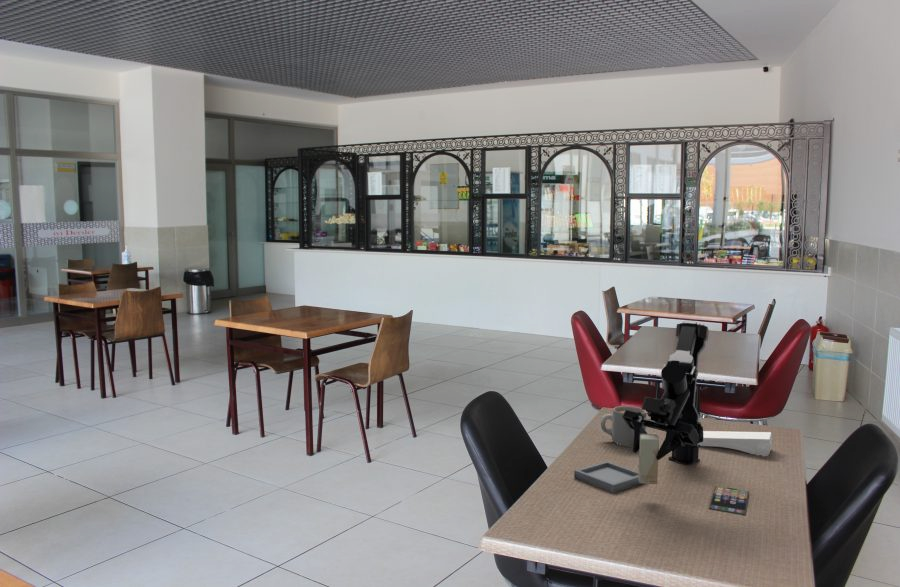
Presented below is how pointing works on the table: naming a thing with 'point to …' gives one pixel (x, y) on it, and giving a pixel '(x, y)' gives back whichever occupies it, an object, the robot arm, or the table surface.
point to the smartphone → (729, 500)
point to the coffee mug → (620, 425)
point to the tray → (608, 476)
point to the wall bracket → (739, 441)
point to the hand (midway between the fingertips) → (645, 455)
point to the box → (648, 458)
